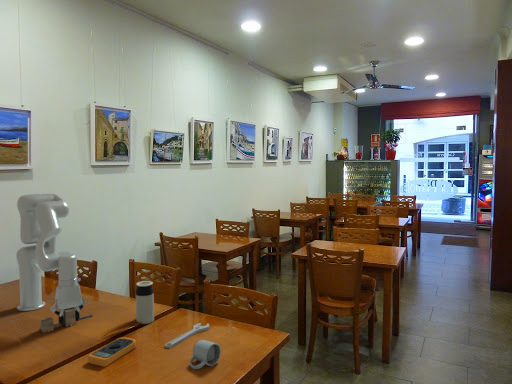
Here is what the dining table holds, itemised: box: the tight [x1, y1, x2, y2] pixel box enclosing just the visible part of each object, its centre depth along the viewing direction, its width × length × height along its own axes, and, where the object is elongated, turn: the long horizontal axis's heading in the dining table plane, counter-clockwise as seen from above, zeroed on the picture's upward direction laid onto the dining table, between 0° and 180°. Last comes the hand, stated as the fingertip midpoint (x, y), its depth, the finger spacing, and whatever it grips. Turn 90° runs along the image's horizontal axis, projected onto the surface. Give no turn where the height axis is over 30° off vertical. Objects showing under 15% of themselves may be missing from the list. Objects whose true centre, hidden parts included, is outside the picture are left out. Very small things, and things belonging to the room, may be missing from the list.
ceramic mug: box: [189, 339, 222, 370], centre depth 139 cm, size 11×8×8 cm
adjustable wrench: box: [164, 322, 210, 349], centre depth 163 cm, size 25×6×2 cm, turn 145°
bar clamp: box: [39, 314, 93, 334], centre depth 172 cm, size 6×22×5 cm, turn 133°
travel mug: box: [135, 280, 155, 325], centre depth 178 cm, size 8×8×18 cm
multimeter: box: [87, 336, 137, 368], centre depth 146 cm, size 9×18×3 cm, turn 157°
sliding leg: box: [62, 307, 77, 328], centre depth 172 cm, size 5×4×7 cm
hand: (69, 321), depth 172 cm, fingers open, 5 cm apart
